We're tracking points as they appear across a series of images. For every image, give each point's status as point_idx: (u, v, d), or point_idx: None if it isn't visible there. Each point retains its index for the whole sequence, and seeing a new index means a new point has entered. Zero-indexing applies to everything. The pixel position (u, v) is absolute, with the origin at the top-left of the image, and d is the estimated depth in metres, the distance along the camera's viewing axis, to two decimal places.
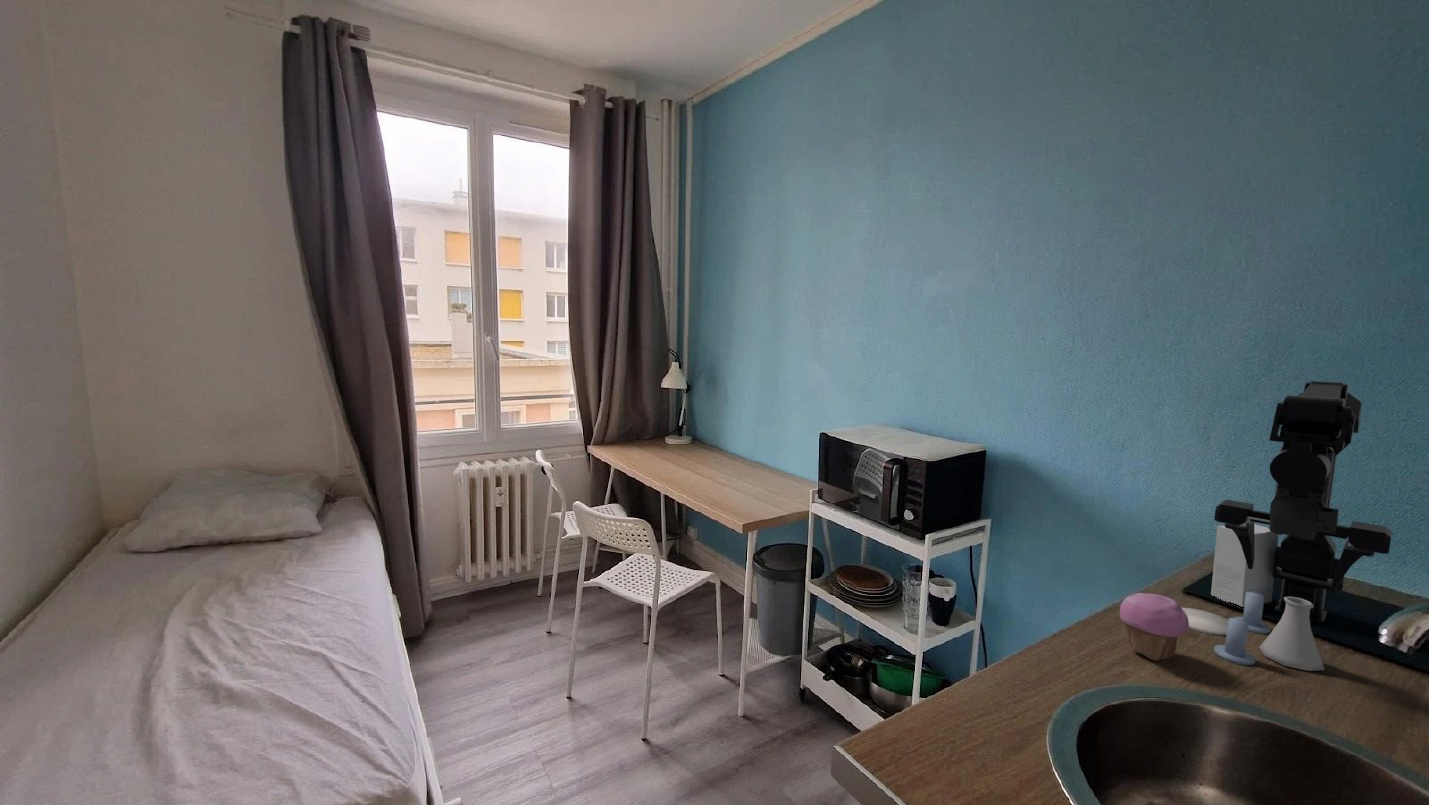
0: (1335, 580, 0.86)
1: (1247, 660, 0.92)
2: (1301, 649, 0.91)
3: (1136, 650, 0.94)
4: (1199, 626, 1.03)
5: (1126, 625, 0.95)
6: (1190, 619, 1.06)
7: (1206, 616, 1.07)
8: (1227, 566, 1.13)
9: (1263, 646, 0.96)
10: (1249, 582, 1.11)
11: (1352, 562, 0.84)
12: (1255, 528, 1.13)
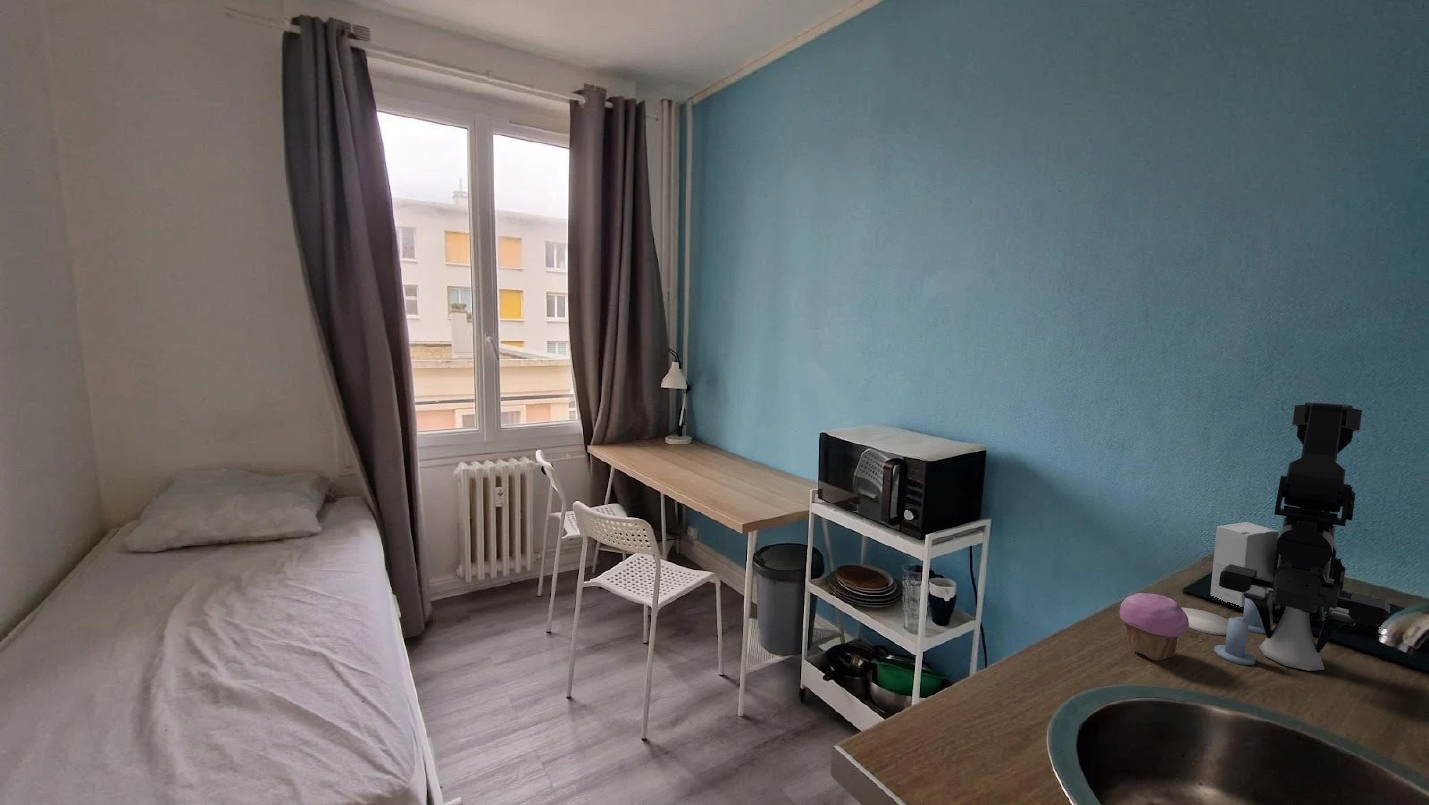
0: (1319, 645, 0.91)
1: (1247, 660, 0.92)
2: (1301, 649, 0.91)
3: (1136, 650, 0.94)
4: (1199, 626, 1.03)
5: (1126, 625, 0.95)
6: (1190, 619, 1.06)
7: (1206, 616, 1.07)
8: None
9: (1263, 646, 0.96)
10: None
11: (1335, 629, 0.89)
12: (1255, 528, 1.13)
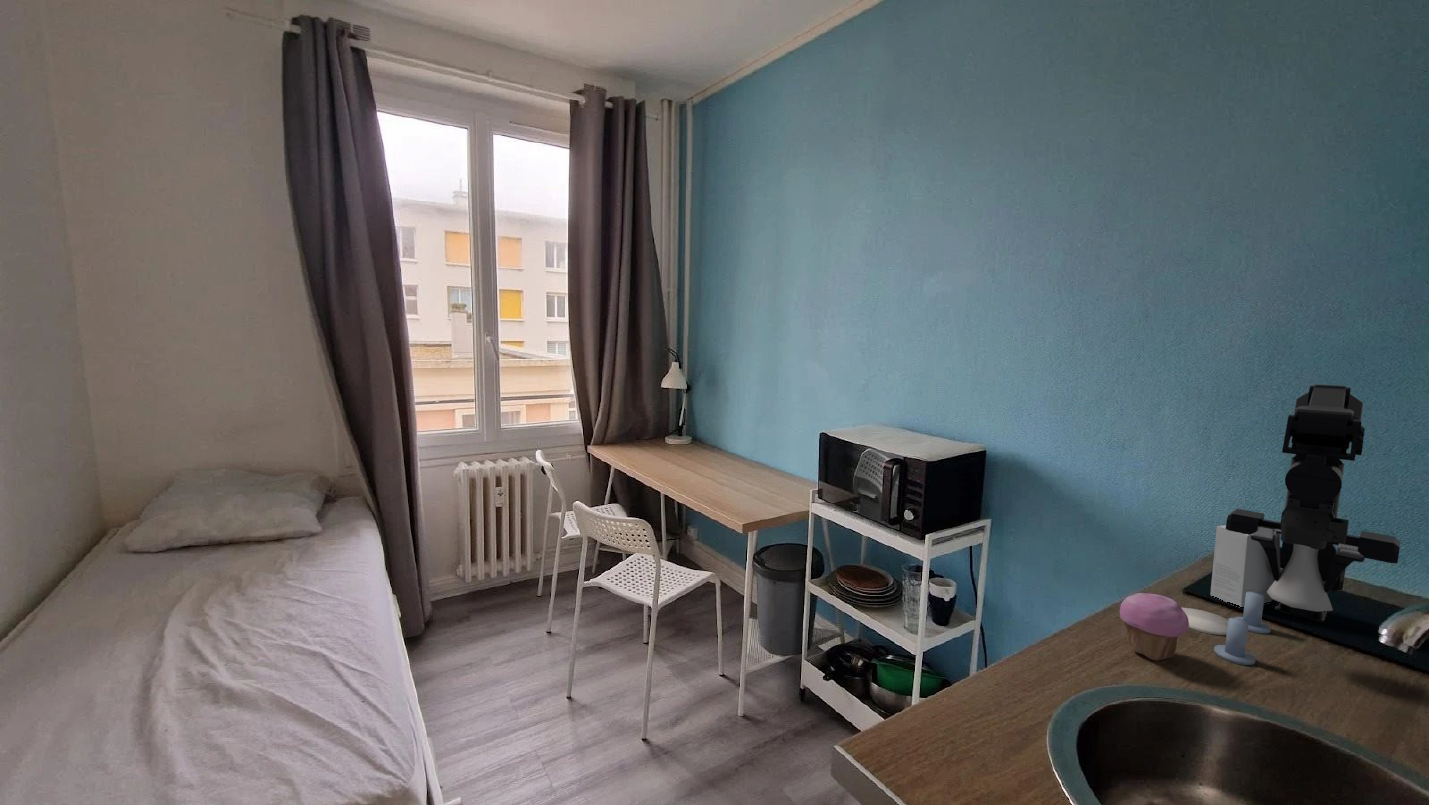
0: (1327, 584, 0.90)
1: (1247, 660, 0.92)
2: (1309, 590, 0.90)
3: (1136, 650, 0.94)
4: (1199, 626, 1.03)
5: (1126, 625, 0.95)
6: (1190, 619, 1.06)
7: (1206, 616, 1.07)
8: (1226, 566, 1.13)
9: (1270, 590, 0.95)
10: (1249, 582, 1.11)
11: (1343, 567, 0.88)
12: None
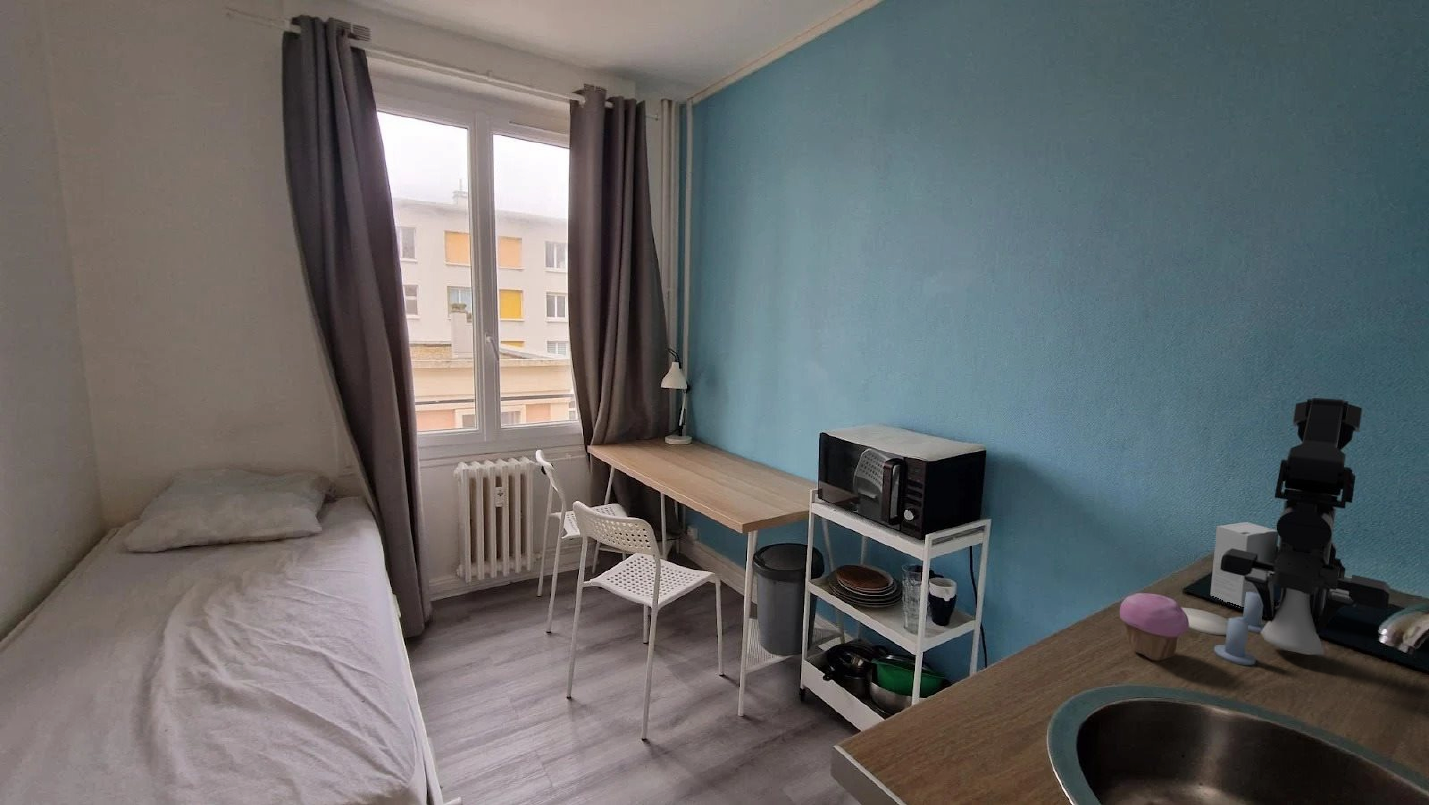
0: (1319, 626, 0.92)
1: (1247, 660, 0.92)
2: (1301, 633, 0.92)
3: (1136, 650, 0.94)
4: (1199, 626, 1.03)
5: (1126, 625, 0.95)
6: (1190, 619, 1.06)
7: (1206, 616, 1.07)
8: None
9: (1264, 631, 0.97)
10: (1249, 582, 1.11)
11: (1335, 611, 0.90)
12: (1255, 528, 1.13)
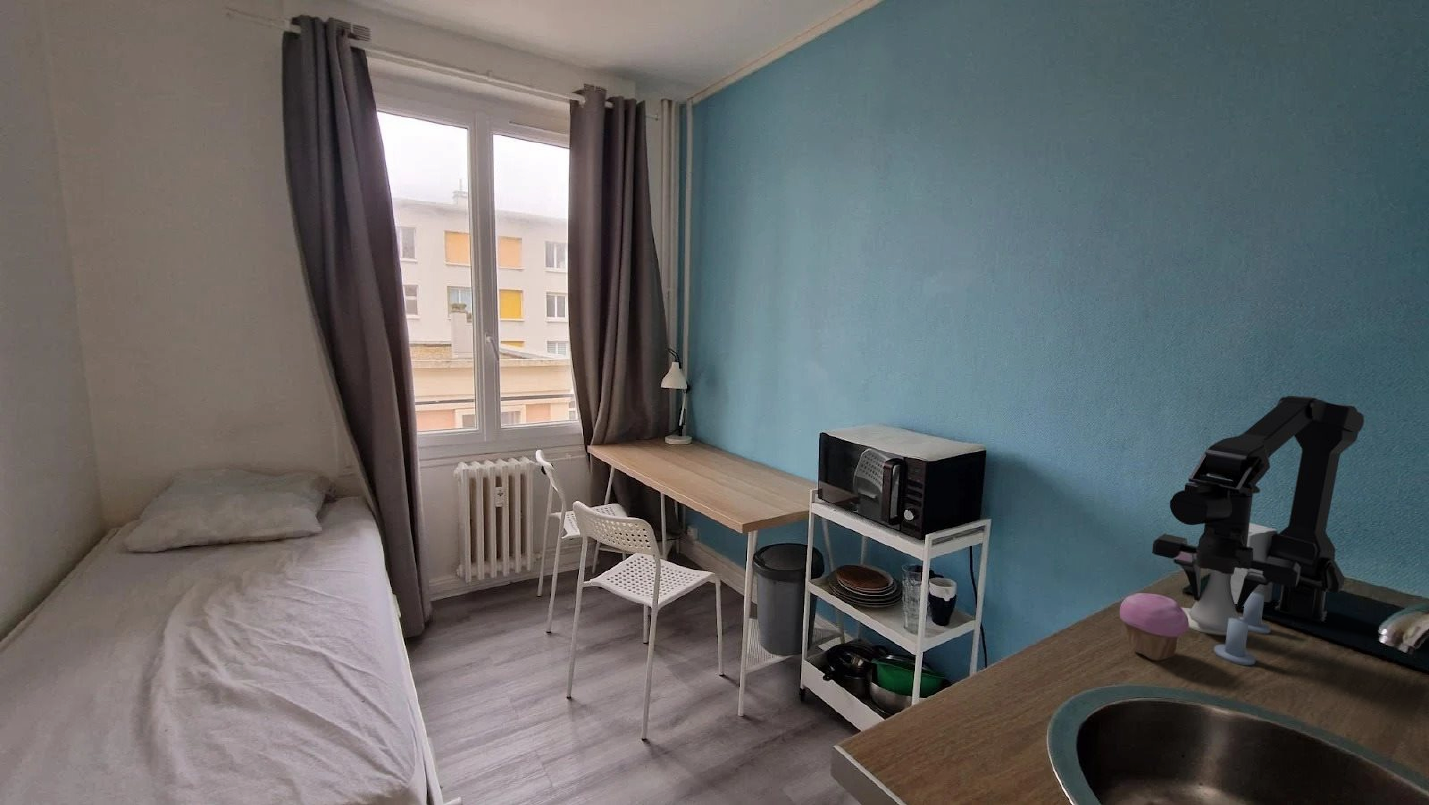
0: (1239, 604, 0.99)
1: (1247, 660, 0.92)
2: (1222, 612, 0.99)
3: (1136, 650, 0.94)
4: (1199, 626, 1.03)
5: (1126, 625, 0.95)
6: (1190, 619, 1.06)
7: None
8: None
9: (1191, 611, 1.04)
10: None
11: (1252, 589, 0.97)
12: (1255, 528, 1.13)
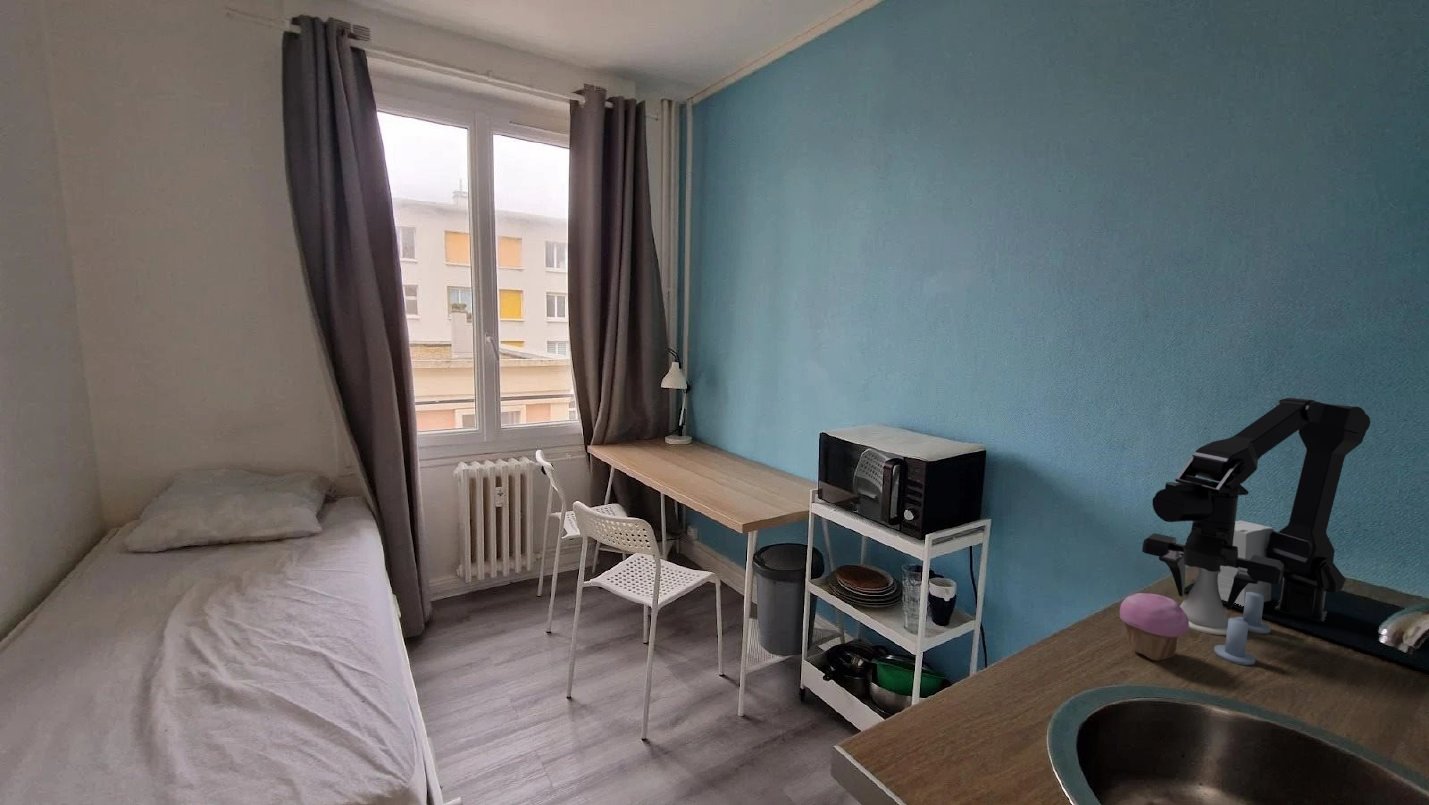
0: (1229, 602, 1.02)
1: (1247, 660, 0.92)
2: (1209, 609, 1.03)
3: (1136, 650, 0.94)
4: (1199, 626, 1.03)
5: (1126, 625, 0.95)
6: None
7: None
8: None
9: None
10: None
11: (1241, 588, 1.00)
12: (1251, 526, 1.14)
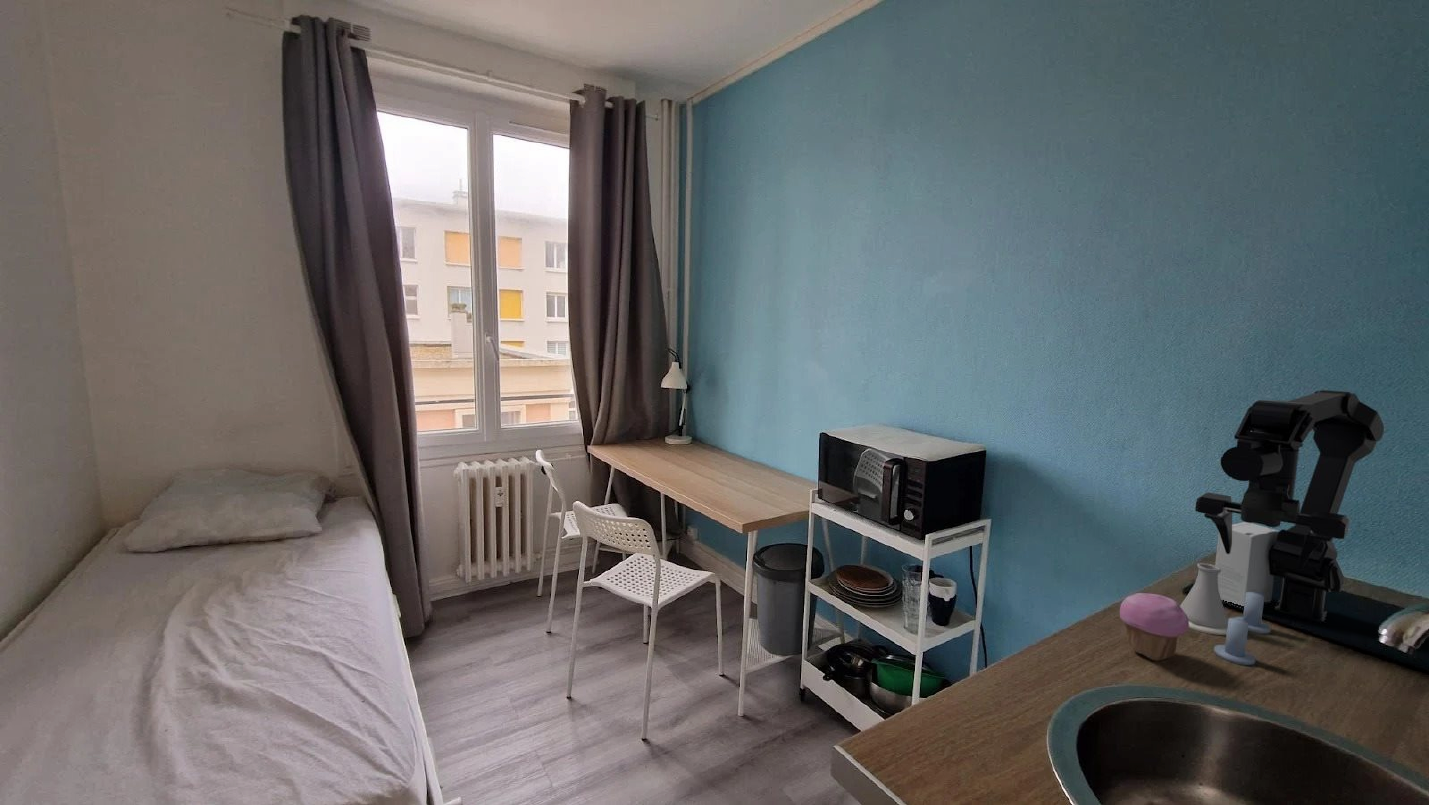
0: (1300, 562, 0.98)
1: (1247, 660, 0.92)
2: (1209, 609, 1.03)
3: (1136, 650, 0.94)
4: (1199, 626, 1.03)
5: (1126, 625, 0.95)
6: None
7: None
8: (1229, 567, 1.13)
9: None
10: (1252, 582, 1.11)
11: (1314, 546, 0.96)
12: (1256, 528, 1.13)
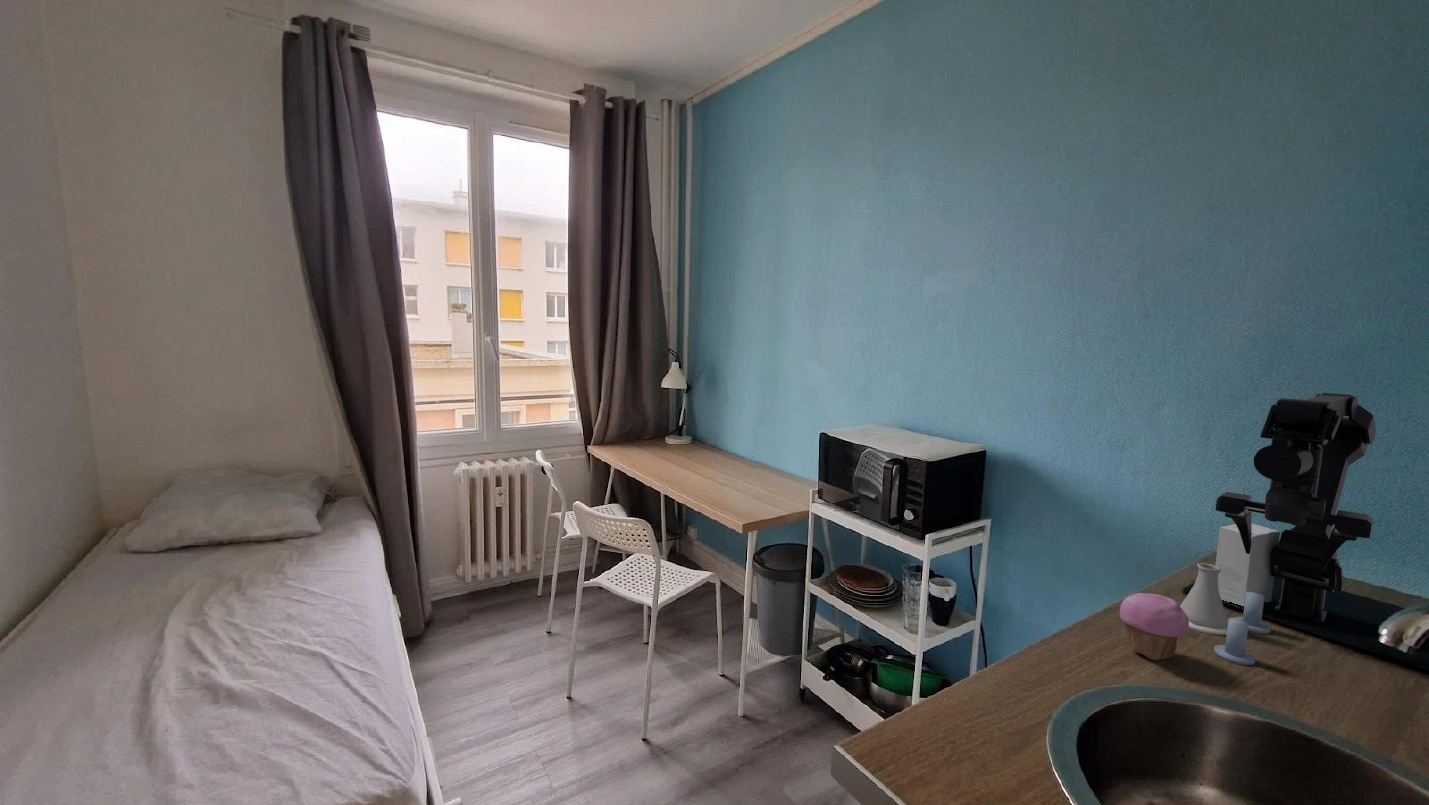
0: (1323, 562, 0.97)
1: (1247, 660, 0.92)
2: (1209, 609, 1.03)
3: (1136, 650, 0.94)
4: (1199, 626, 1.03)
5: (1126, 625, 0.95)
6: None
7: None
8: (1229, 567, 1.13)
9: None
10: (1252, 583, 1.11)
11: (1338, 546, 0.95)
12: (1257, 529, 1.13)
